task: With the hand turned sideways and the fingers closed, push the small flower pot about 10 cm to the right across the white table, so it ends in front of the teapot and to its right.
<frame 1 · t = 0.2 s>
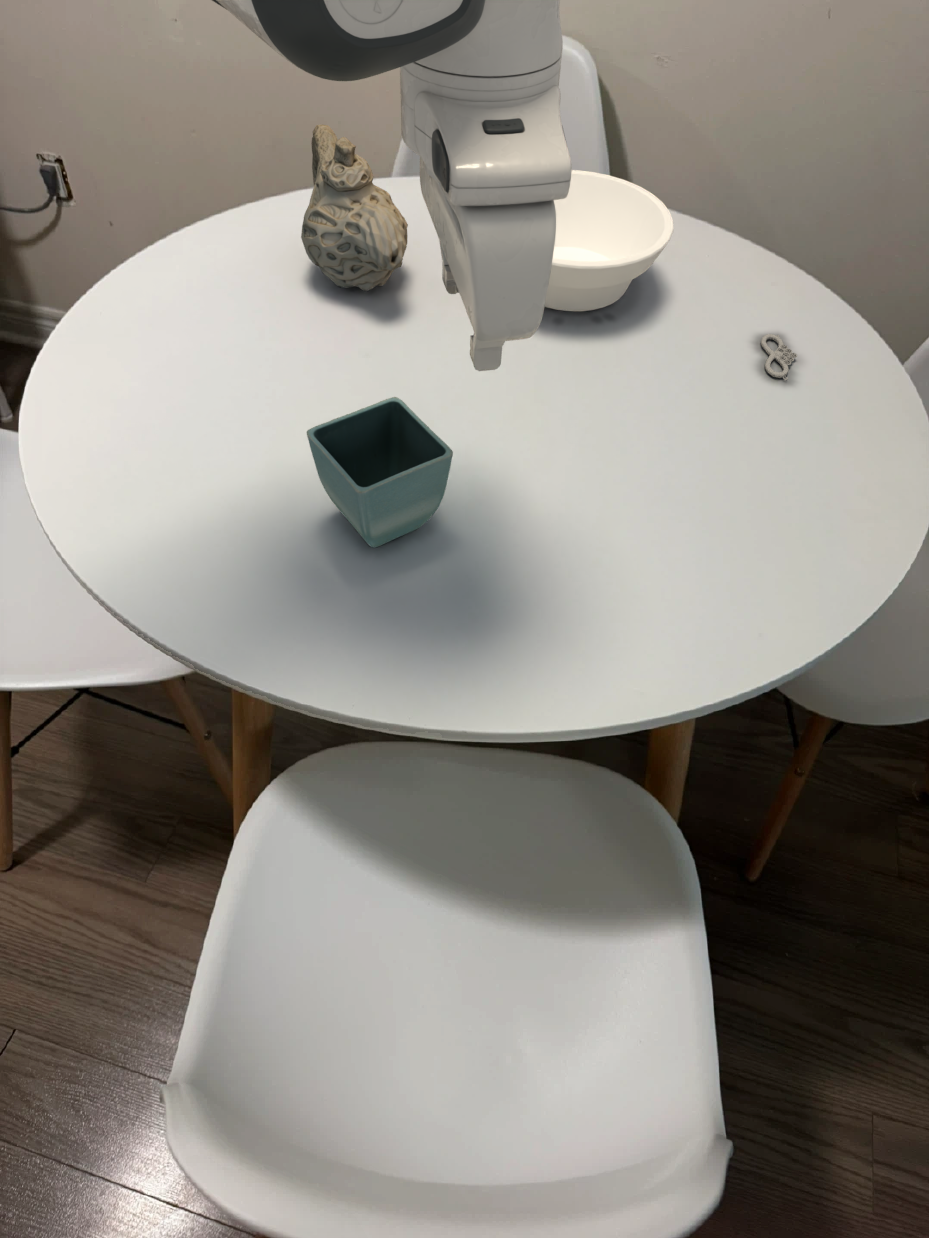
hand: (469, 324, 60), 20 cm above the table, tool pointing down, fingers open, 8 cm apart
flower pot: (383, 522, 77), on the table
bowl: (567, 285, 102), on the table
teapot: (355, 275, 101), on the table
charm: (778, 359, 94), on the table
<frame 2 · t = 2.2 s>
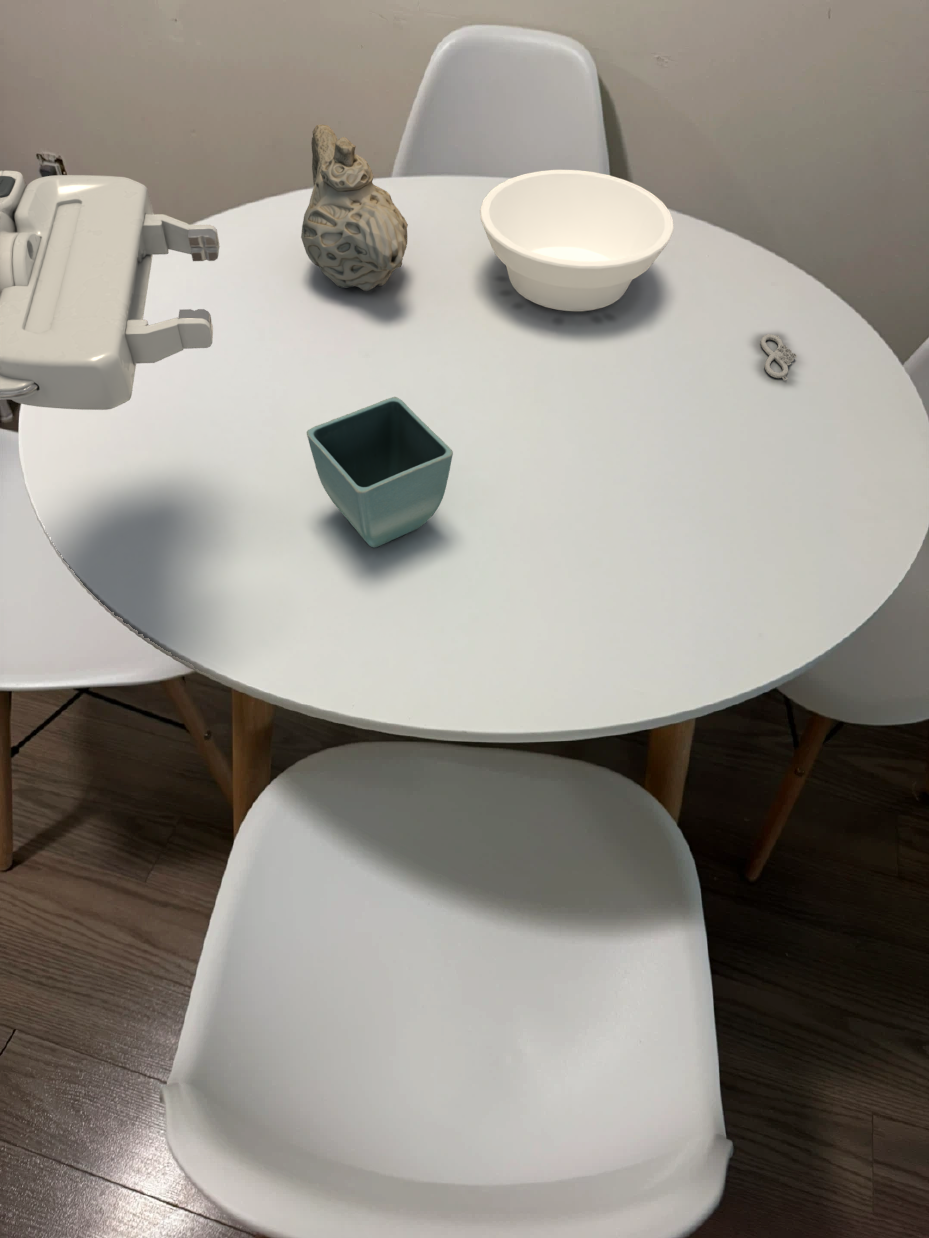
hand: (214, 283, 56), 24 cm above the table, tool horizontal, fingers open, 8 cm apart
nothing on the table moved.
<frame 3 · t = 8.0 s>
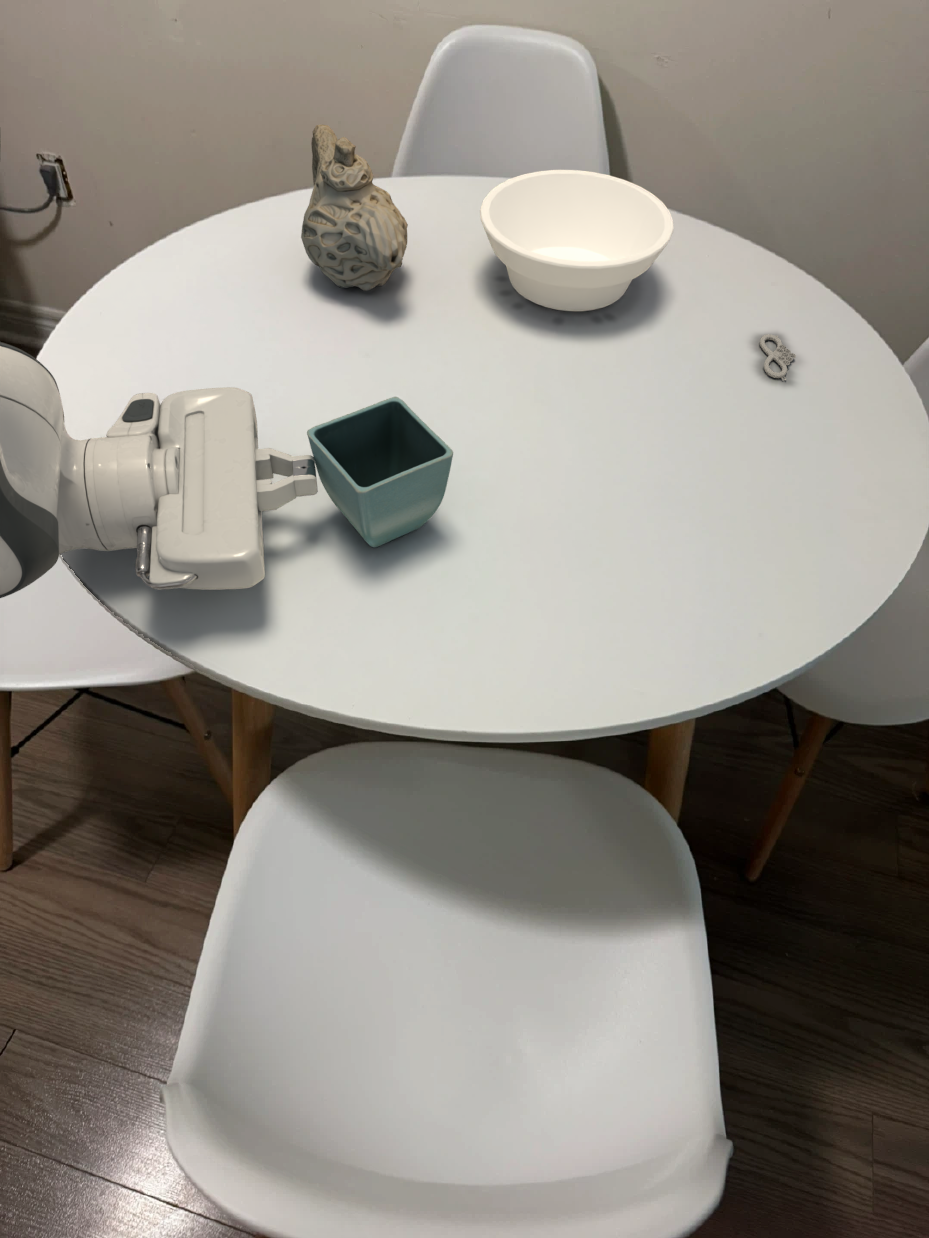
hand: (316, 474, 71), 6 cm above the table, tool horizontal, fingers closed
flower pot: (383, 522, 77), on the table, touching gripper
everything else where it was.
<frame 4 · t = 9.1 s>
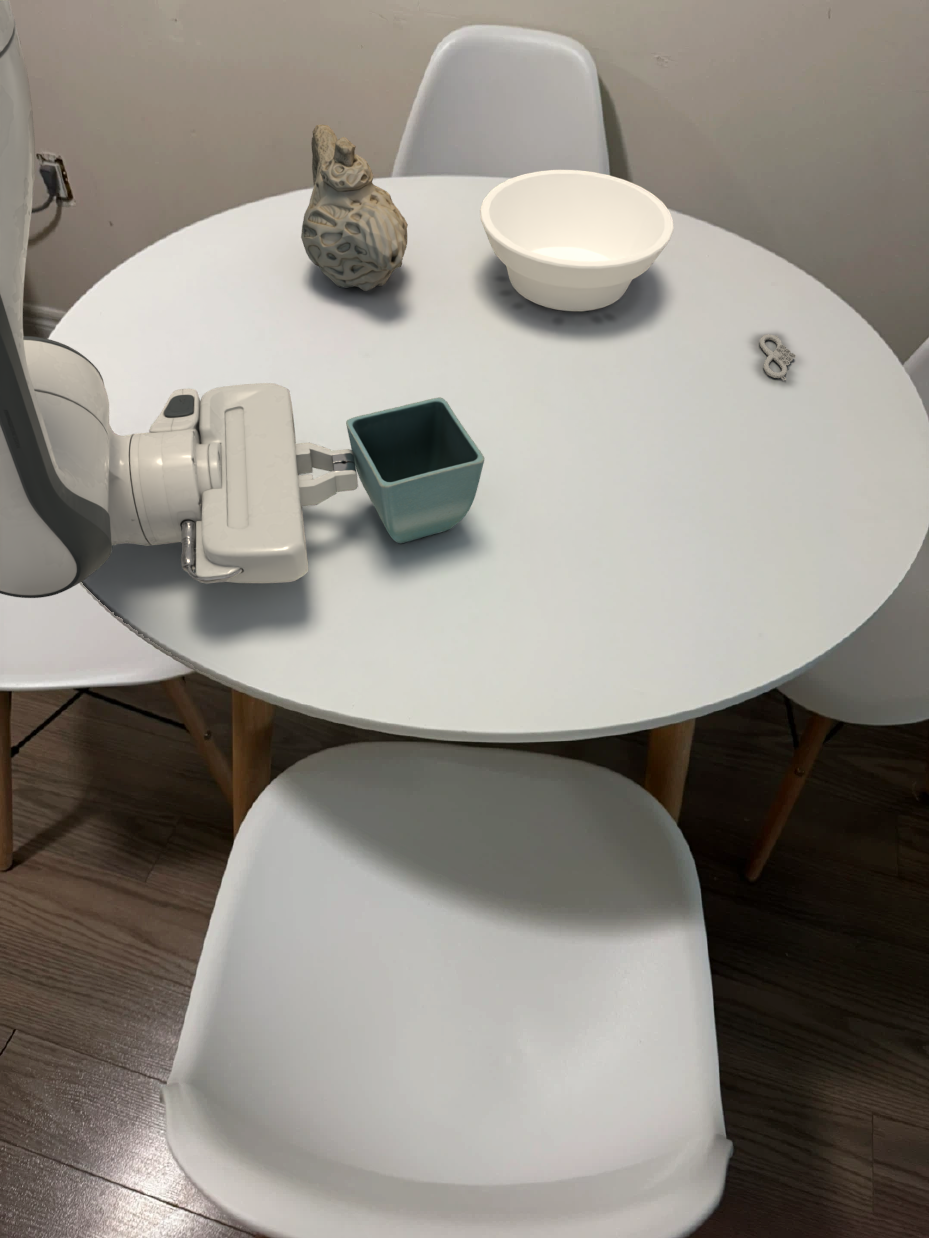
hand: (355, 469, 72), 6 cm above the table, tool horizontal, fingers closed
flower pot: (415, 520, 77), on the table, touching gripper
everything else where it was.
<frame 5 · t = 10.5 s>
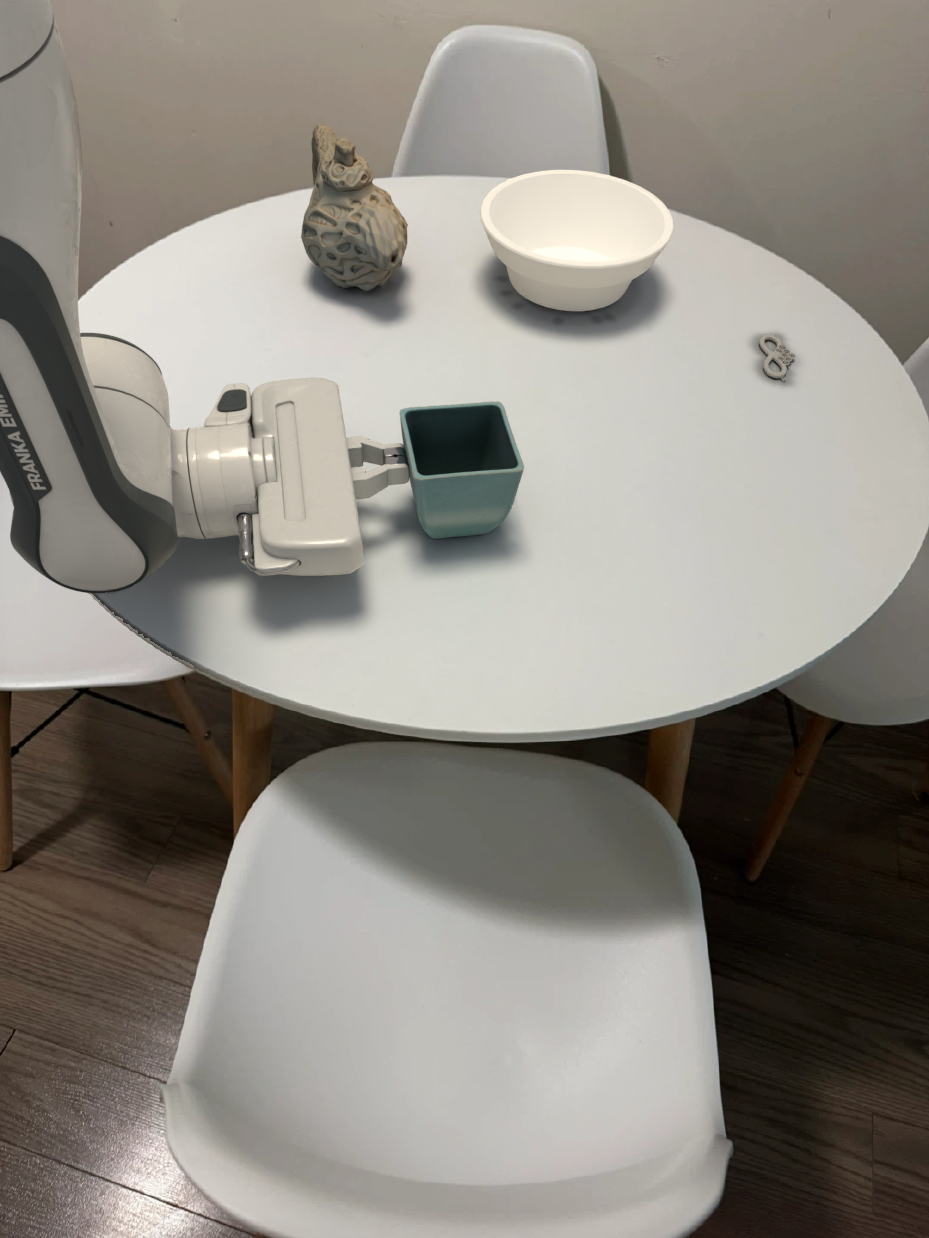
hand: (406, 462, 72), 6 cm above the table, tool horizontal, fingers closed, pressing on flower pot
flower pot: (456, 518, 77), on the table, touching gripper
everything else where it was.
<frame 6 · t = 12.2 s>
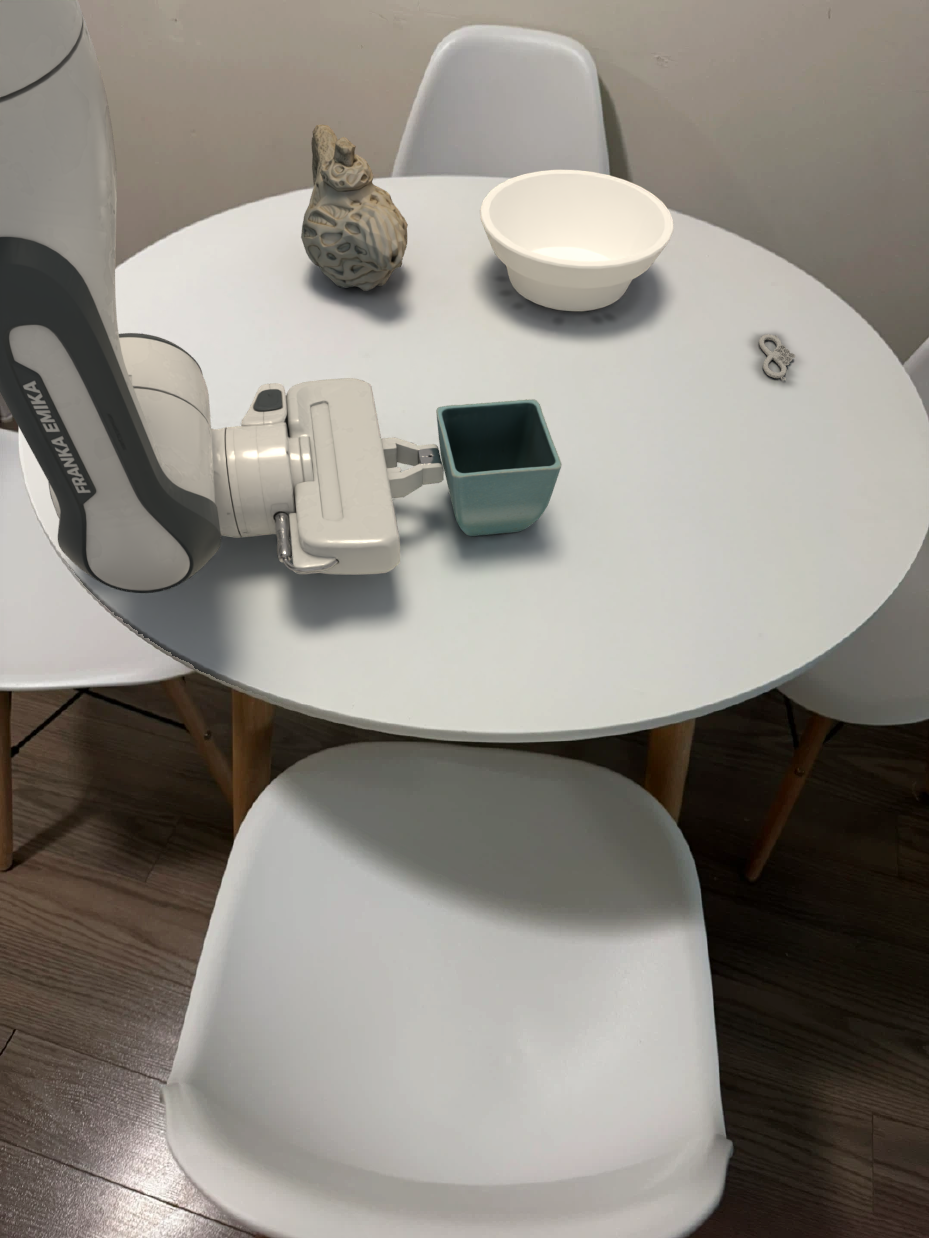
hand: (441, 463, 73), 6 cm above the table, tool horizontal, fingers closed
flower pot: (491, 516, 78), on the table
everything else where it was.
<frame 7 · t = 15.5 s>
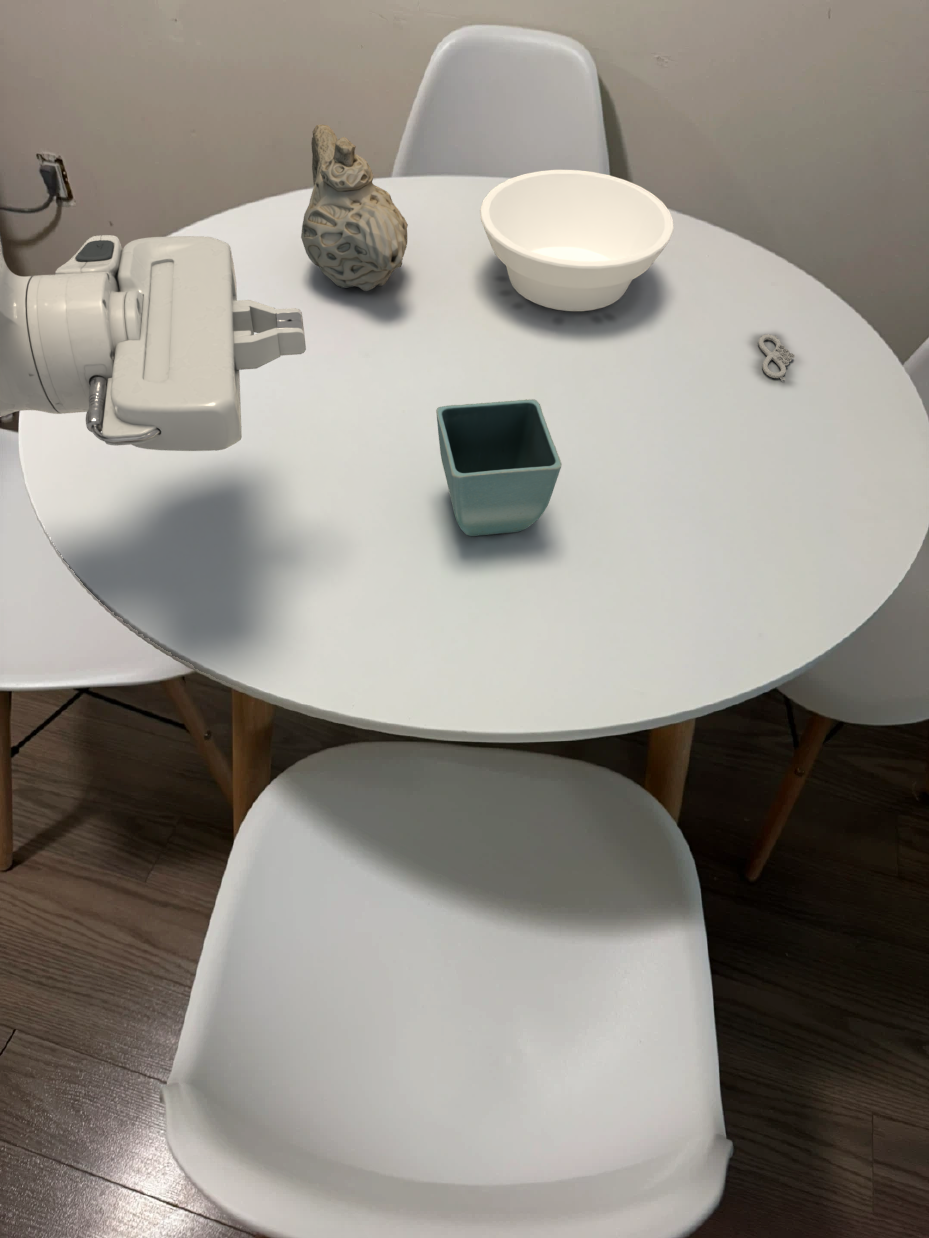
hand: (304, 330, 61), 19 cm above the table, tool horizontal, fingers closed
nothing on the table moved.
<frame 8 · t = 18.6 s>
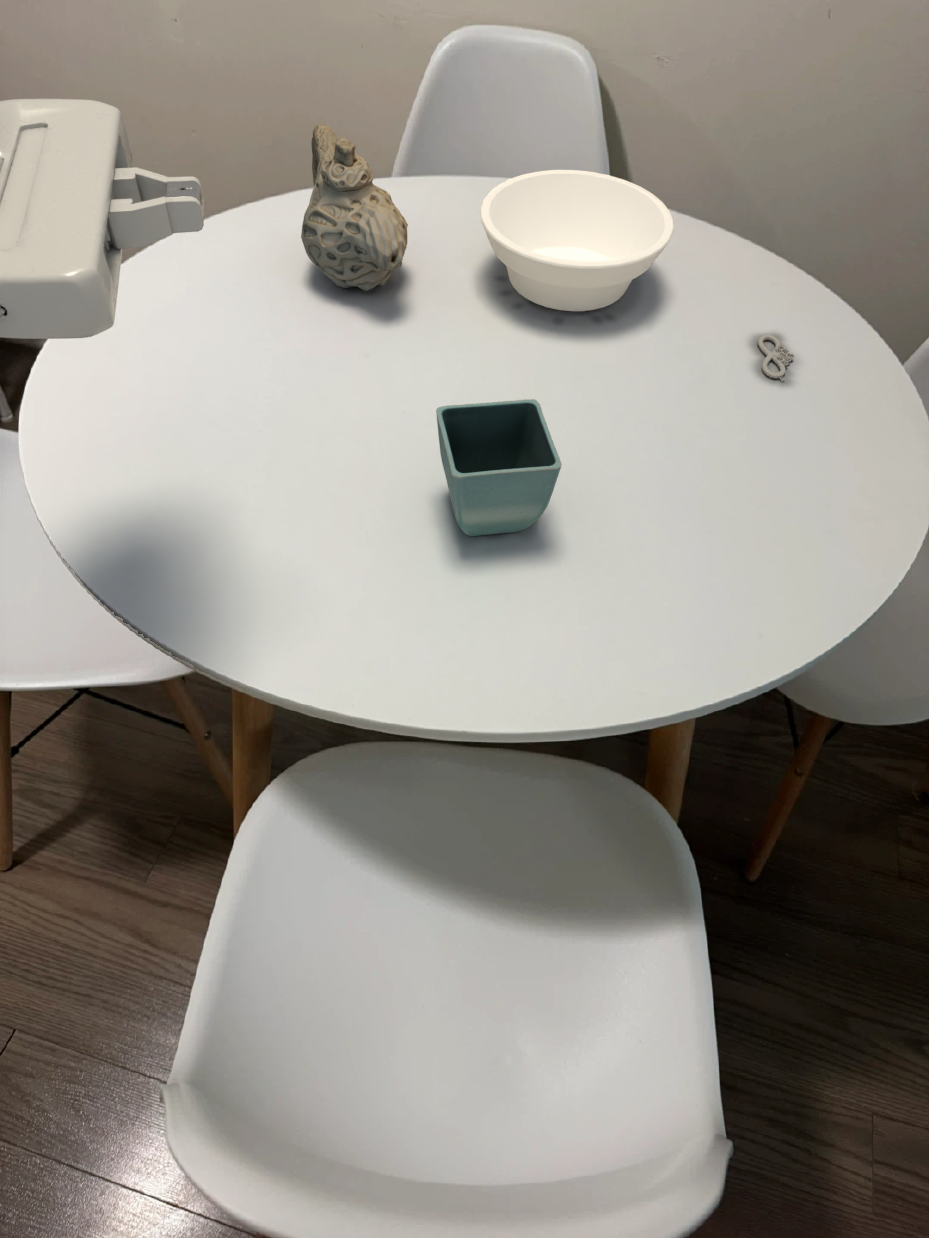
hand: (202, 203, 50), 30 cm above the table, tool horizontal, fingers closed
nothing on the table moved.
at the end: flower pot moved 9.5 cm from its start; flower pot tilted 0° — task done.
